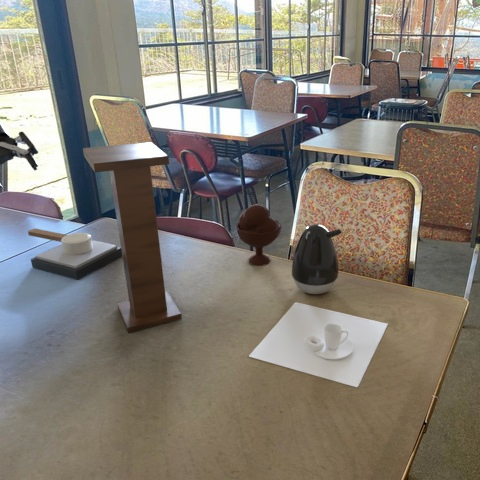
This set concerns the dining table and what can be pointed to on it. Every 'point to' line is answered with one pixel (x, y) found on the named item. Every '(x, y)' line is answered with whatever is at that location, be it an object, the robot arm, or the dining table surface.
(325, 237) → the pump dispenser
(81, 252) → the white handled cylinder
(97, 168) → the wooden lectern stand
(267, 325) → the dining table surface
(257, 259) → the ice cream bowl
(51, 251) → the scale
